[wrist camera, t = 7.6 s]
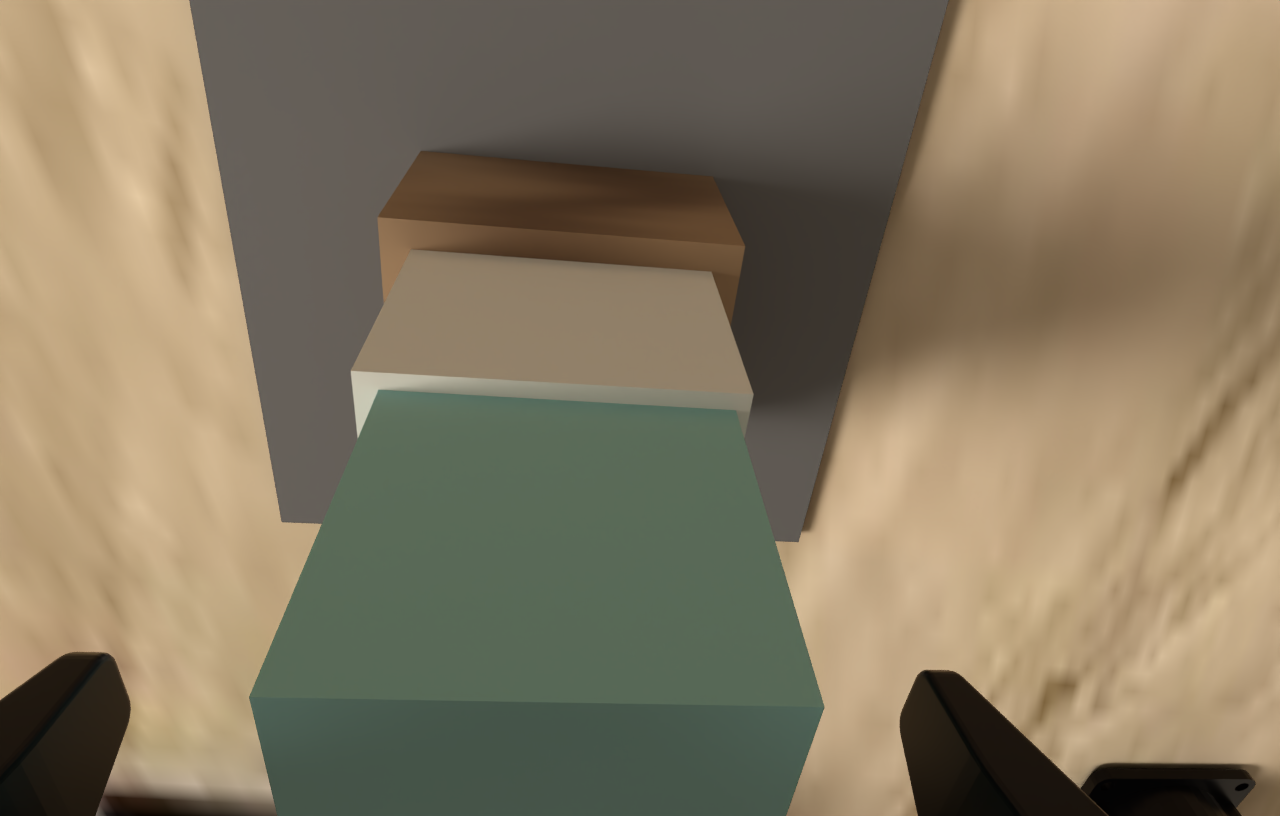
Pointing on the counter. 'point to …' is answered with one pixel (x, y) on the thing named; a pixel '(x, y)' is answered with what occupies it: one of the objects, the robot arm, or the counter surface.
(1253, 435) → the counter surface
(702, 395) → the tower mid
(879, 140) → the mat
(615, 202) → the tower base
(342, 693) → the teal cube
